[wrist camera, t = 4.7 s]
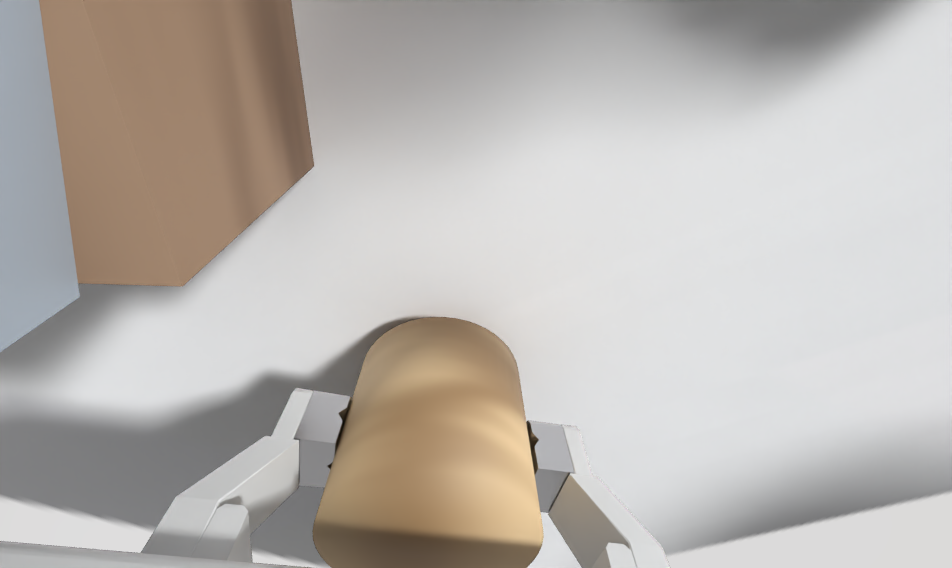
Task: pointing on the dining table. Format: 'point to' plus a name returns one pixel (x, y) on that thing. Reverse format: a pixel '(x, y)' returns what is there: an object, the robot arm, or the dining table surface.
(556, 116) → the dining table surface
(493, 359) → the beech cylinder
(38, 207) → the tower top block
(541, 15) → the dining table surface
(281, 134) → the tower base
